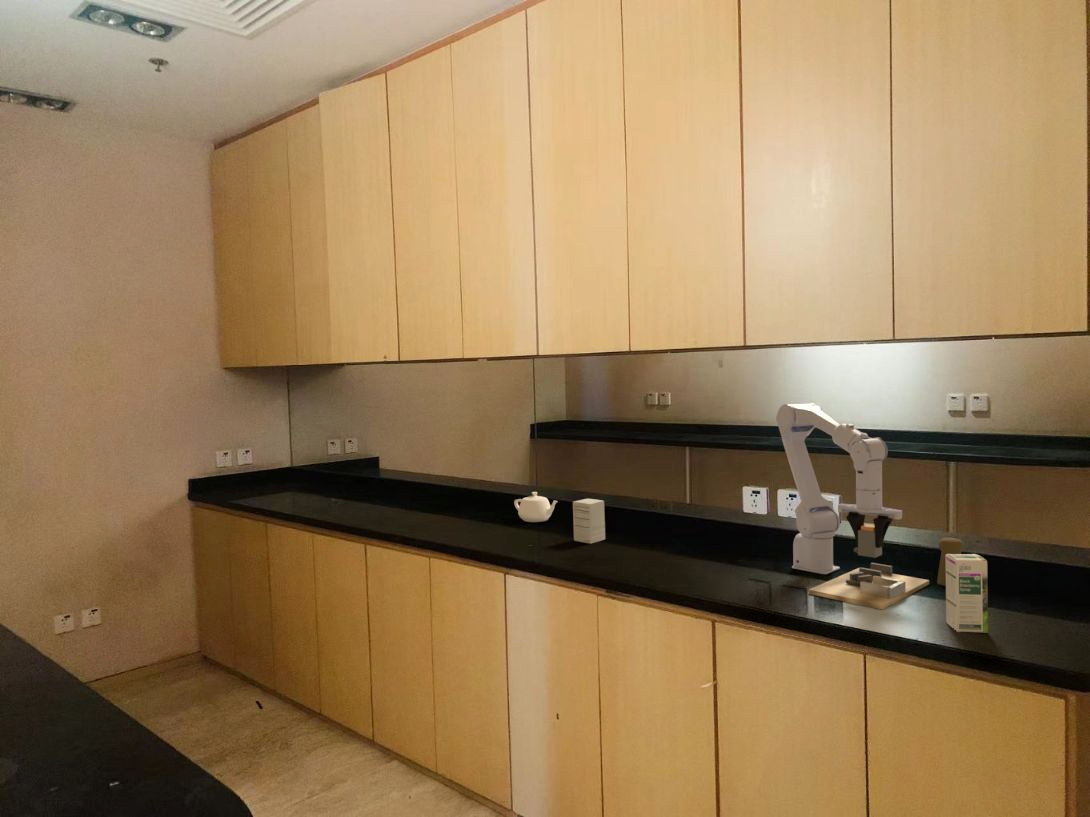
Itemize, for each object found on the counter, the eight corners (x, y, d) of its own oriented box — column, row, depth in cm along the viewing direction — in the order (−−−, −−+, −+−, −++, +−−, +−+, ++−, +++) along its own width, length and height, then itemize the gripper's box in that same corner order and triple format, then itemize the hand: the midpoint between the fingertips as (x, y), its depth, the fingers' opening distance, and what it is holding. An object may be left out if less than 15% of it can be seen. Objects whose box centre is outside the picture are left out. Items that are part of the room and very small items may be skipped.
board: (808, 593, 171) (808, 589, 171) (859, 571, 188) (859, 567, 188) (882, 609, 158) (882, 605, 158) (929, 584, 176) (929, 580, 176)
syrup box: (956, 632, 144) (956, 559, 143) (945, 622, 149) (945, 552, 149) (988, 633, 143) (988, 560, 142) (975, 623, 148) (975, 552, 148)
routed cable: (844, 583, 174) (844, 579, 174) (859, 576, 180) (859, 572, 180) (877, 590, 169) (877, 586, 169) (892, 582, 174) (892, 578, 174)
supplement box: (588, 536, 238) (587, 498, 237) (605, 539, 232) (605, 500, 232) (573, 540, 232) (572, 501, 232) (590, 544, 227) (589, 503, 226)
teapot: (568, 519, 267) (567, 492, 266) (547, 525, 257) (546, 497, 256) (525, 514, 279) (525, 488, 278) (504, 520, 269) (503, 492, 269)
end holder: (860, 593, 167) (860, 582, 167) (874, 586, 172) (874, 575, 172) (891, 599, 162) (891, 588, 162) (905, 592, 167) (905, 581, 167)
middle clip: (860, 585, 173) (860, 577, 173) (849, 581, 176) (849, 573, 176) (872, 583, 174) (872, 575, 174) (861, 580, 177) (861, 571, 177)
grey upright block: (850, 553, 177) (850, 524, 176) (857, 550, 179) (857, 522, 179) (874, 557, 172) (874, 528, 172) (882, 554, 175) (882, 525, 175)
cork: (939, 578, 180) (939, 534, 180) (967, 582, 176) (967, 537, 176) (934, 584, 175) (934, 539, 175) (963, 588, 171) (962, 542, 171)
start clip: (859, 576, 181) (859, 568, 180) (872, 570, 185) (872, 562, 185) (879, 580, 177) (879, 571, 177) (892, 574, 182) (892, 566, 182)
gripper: (831, 488, 177) (832, 543, 177) (893, 494, 166) (893, 553, 167) (845, 484, 182) (845, 538, 182) (905, 490, 171) (906, 547, 171)
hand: (869, 545), depth 175 cm, fingers closed on grey upright block, 4 cm apart
